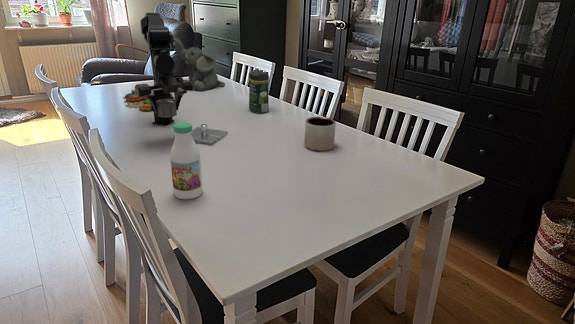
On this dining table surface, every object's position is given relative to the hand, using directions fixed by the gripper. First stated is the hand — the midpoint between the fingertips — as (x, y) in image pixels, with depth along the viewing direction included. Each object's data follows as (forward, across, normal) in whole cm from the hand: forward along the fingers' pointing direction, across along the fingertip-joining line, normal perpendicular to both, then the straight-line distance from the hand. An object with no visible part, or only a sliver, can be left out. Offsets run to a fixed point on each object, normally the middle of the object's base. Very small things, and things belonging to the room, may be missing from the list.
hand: (167, 111), depth 137 cm
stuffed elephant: (+11, +41, +69) cm, 81 cm away
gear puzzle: (+12, +5, +53) cm, 55 cm away
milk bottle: (+11, -9, -41) cm, 44 cm away
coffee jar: (+11, +47, +16) cm, 51 cm away
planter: (+11, +45, -32) cm, 56 cm away
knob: (+1, 0, 0) cm, 1 cm away
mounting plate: (+11, +12, -3) cm, 17 cm away
